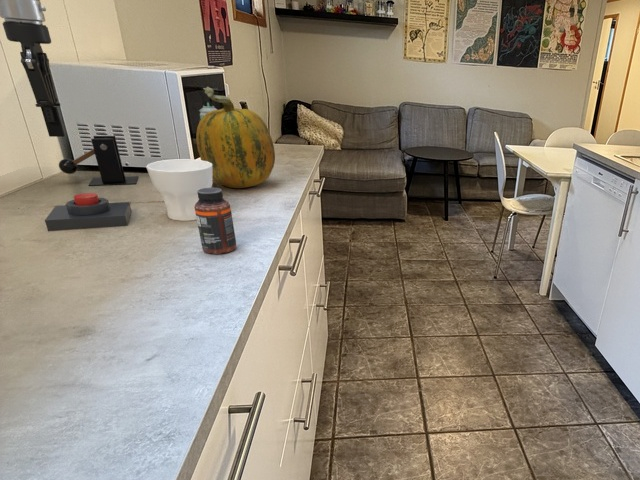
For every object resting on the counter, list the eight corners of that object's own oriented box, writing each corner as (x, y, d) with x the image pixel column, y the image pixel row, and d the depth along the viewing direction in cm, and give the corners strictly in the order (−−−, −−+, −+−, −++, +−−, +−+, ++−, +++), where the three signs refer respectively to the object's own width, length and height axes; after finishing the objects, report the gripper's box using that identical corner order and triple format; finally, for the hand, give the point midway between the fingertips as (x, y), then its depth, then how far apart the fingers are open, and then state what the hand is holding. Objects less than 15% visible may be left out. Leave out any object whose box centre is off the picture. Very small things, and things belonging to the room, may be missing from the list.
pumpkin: (197, 194, 119) (177, 86, 108) (212, 176, 136) (197, 81, 124) (274, 194, 124) (264, 91, 112) (280, 177, 140) (271, 85, 129)
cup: (184, 204, 111) (175, 156, 106) (232, 211, 109) (224, 162, 104) (143, 219, 100) (131, 167, 95) (195, 227, 99) (185, 174, 93)
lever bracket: (89, 189, 116) (75, 140, 111) (94, 182, 123) (81, 134, 117) (137, 187, 121) (125, 140, 115) (139, 180, 127) (128, 134, 121)
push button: (74, 207, 94) (71, 198, 93) (77, 201, 97) (75, 193, 96) (98, 206, 95) (96, 197, 94) (101, 200, 98) (98, 192, 98)
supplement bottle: (238, 242, 92) (229, 185, 87) (236, 254, 88) (227, 194, 82) (204, 244, 91) (193, 186, 85) (200, 256, 86) (188, 194, 80)
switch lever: (66, 178, 115) (53, 165, 113) (69, 174, 118) (56, 162, 116) (115, 149, 117) (103, 136, 115) (116, 147, 120) (105, 134, 117)
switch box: (48, 231, 91) (41, 211, 89) (58, 215, 99) (52, 197, 97) (127, 225, 97) (122, 206, 95) (131, 211, 104) (127, 193, 102)
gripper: (39, 23, 98) (71, 141, 109) (52, 24, 108) (81, 131, 119) (-8, 19, 95) (30, 140, 106) (10, 20, 105) (43, 131, 116)
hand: (57, 136), depth 112 cm, fingers closed
